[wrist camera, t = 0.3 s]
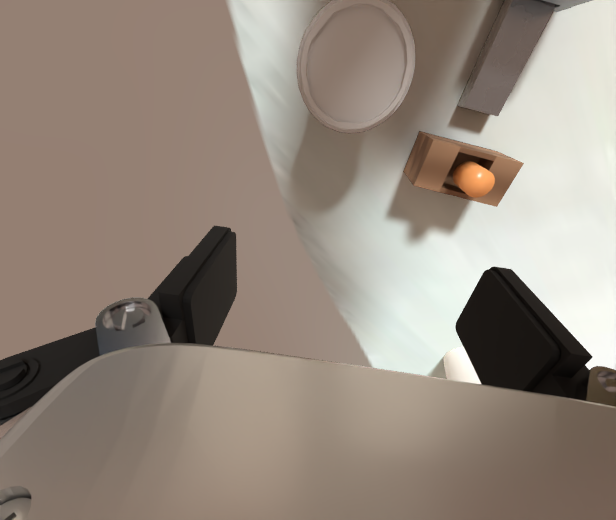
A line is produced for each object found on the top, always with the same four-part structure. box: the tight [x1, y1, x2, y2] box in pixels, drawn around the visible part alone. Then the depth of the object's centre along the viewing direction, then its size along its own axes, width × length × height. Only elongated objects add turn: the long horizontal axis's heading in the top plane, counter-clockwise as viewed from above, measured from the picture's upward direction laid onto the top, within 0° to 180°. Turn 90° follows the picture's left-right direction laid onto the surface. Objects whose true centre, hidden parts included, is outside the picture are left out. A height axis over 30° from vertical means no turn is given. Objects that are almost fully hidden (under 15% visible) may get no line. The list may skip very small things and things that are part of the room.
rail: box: [457, 0, 557, 116], centre depth 29 cm, size 15×4×2 cm, turn 167°
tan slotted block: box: [403, 131, 524, 207], centre depth 34 cm, size 5×10×6 cm, turn 77°
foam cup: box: [443, 347, 481, 384], centre depth 50 cm, size 10×9×13 cm
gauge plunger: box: [453, 161, 495, 198], centre depth 30 cm, size 3×3×4 cm
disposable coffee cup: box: [297, 0, 416, 133], centre depth 27 cm, size 10×10×12 cm
